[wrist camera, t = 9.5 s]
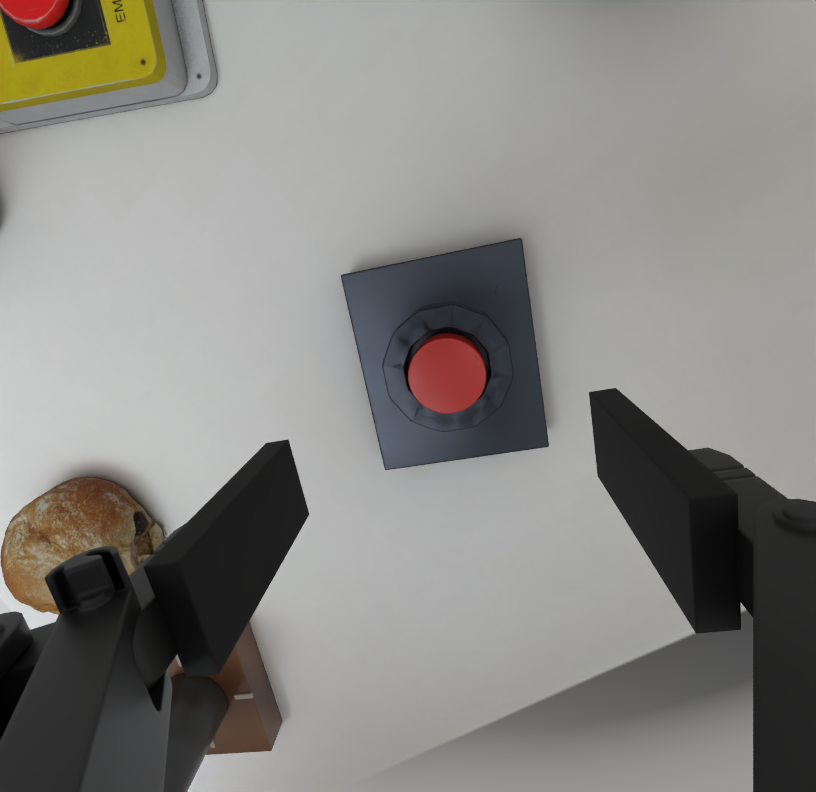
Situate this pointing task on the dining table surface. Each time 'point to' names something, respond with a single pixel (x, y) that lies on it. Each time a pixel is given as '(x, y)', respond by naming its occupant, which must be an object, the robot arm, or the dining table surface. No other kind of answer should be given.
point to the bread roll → (73, 535)
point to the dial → (191, 728)
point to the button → (447, 373)
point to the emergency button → (99, 58)
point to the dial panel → (243, 701)
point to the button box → (459, 314)
